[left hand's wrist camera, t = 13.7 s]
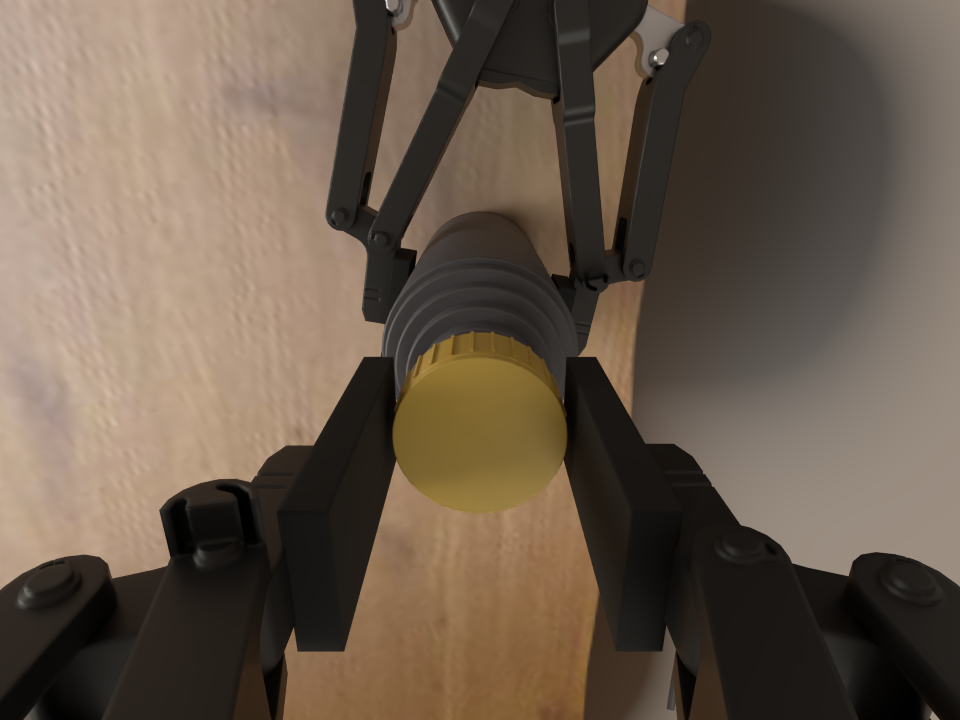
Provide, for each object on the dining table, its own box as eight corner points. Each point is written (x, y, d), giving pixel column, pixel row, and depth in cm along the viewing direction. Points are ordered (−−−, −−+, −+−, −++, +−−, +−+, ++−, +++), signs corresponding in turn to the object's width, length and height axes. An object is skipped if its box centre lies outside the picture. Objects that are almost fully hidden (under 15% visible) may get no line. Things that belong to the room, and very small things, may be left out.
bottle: (555, 296, 32) (654, 485, 14) (454, 342, 33) (423, 577, 15) (507, 190, 30) (550, 249, 12) (402, 243, 31) (291, 374, 13)
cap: (583, 437, 15) (597, 476, 13) (445, 495, 16) (440, 539, 14) (519, 302, 14) (525, 324, 12) (371, 371, 14) (356, 402, 12)
